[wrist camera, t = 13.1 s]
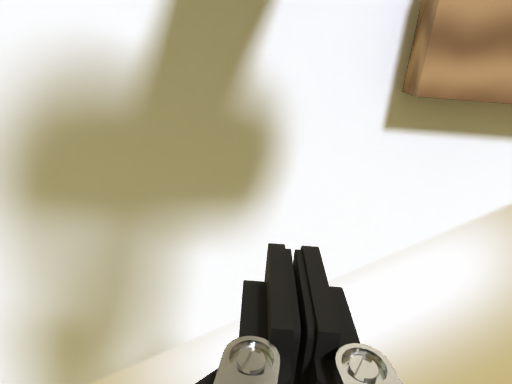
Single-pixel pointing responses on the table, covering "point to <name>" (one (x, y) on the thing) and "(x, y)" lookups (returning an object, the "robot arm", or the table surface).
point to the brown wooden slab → (462, 51)
